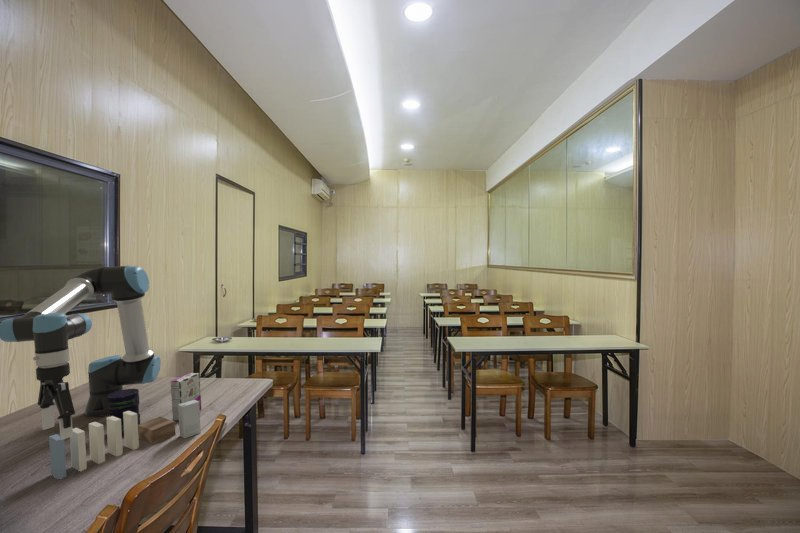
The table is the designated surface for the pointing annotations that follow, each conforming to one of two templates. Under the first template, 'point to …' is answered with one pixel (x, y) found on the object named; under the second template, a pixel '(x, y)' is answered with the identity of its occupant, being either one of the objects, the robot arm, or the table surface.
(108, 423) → the tile
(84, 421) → the table surface
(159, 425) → the end block
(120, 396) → the storage jar
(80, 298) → the robot arm
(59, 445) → the tile
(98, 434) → the tile
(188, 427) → the skincare box
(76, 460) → the tile
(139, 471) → the table surface
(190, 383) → the candy bar box
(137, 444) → the tile
